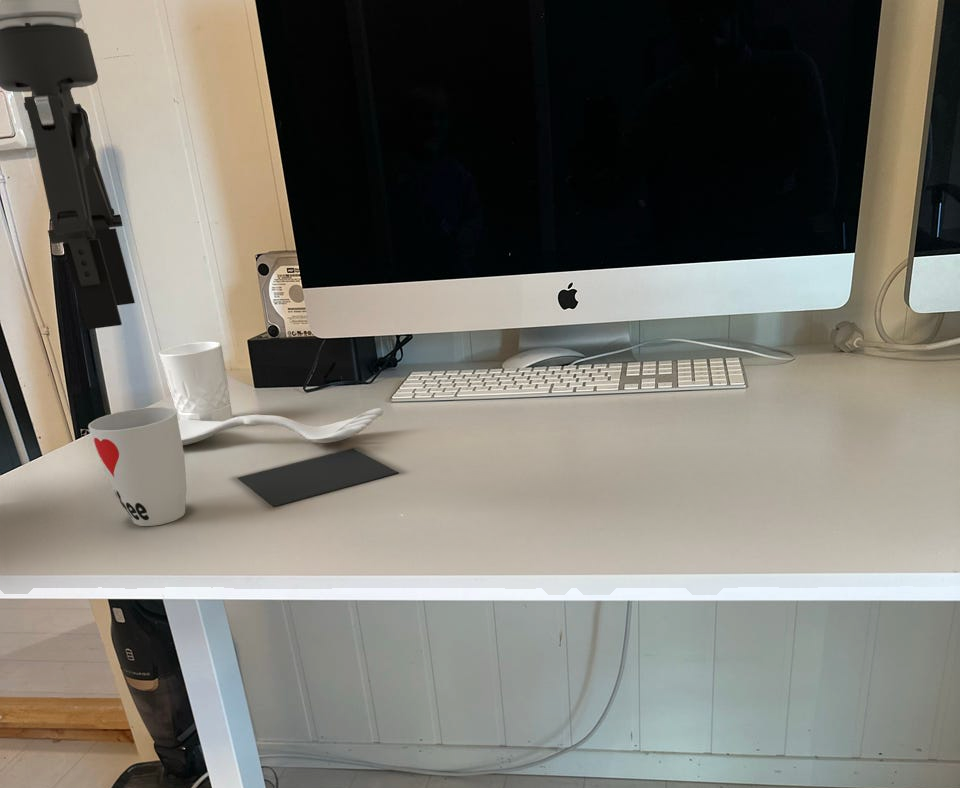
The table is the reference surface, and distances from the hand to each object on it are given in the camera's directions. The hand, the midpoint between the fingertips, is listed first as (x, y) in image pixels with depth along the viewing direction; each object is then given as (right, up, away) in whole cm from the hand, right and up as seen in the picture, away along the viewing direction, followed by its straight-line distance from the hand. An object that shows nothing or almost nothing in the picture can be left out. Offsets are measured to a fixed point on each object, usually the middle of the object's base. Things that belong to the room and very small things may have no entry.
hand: (113, 315), depth 80 cm
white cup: (-4, 0, +42) cm, 42 cm away
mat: (+15, -11, +18) cm, 26 cm away
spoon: (+5, -5, +31) cm, 32 cm away
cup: (0, -17, +11) cm, 20 cm away
